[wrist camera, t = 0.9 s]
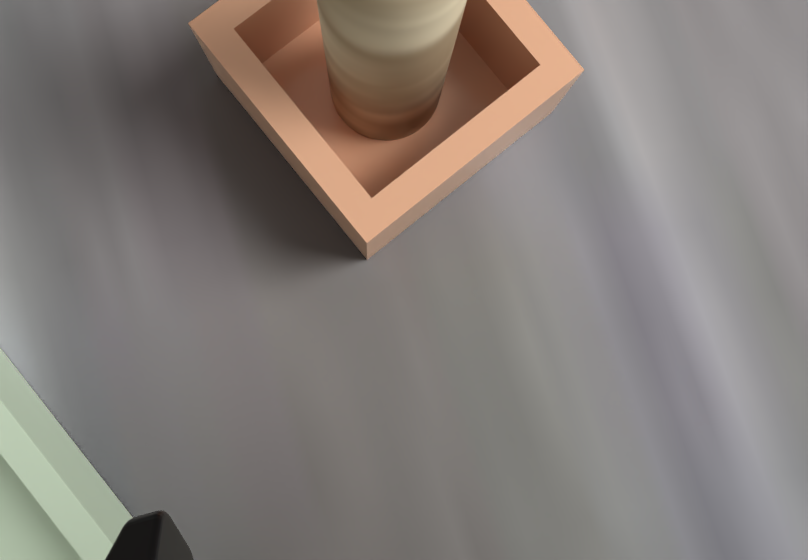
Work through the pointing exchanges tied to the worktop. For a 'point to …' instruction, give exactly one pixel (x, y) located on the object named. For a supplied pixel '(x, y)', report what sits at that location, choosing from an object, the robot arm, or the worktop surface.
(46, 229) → the worktop surface
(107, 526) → the sage tray
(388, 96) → the dowel
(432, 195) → the peach square box
